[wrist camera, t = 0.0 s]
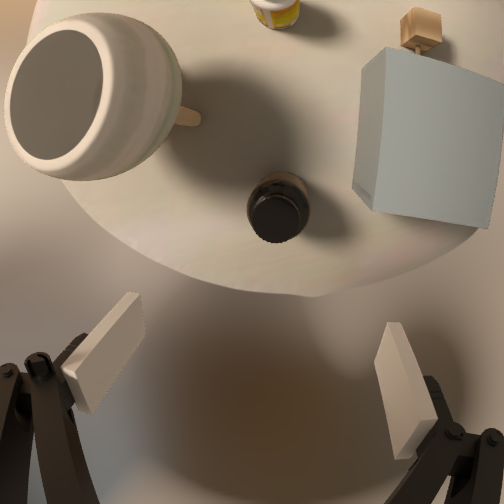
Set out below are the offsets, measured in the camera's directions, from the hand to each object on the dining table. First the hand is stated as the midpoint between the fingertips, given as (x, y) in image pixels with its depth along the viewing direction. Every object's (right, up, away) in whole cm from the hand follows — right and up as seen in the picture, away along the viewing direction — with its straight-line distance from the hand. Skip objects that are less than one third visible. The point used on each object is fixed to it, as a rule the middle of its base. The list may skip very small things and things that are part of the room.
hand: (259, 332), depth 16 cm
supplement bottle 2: (+4, +11, +26) cm, 28 cm away
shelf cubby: (+20, +19, +20) cm, 34 cm away
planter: (-13, +24, +23) cm, 36 cm away
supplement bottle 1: (+3, +35, +16) cm, 39 cm away
